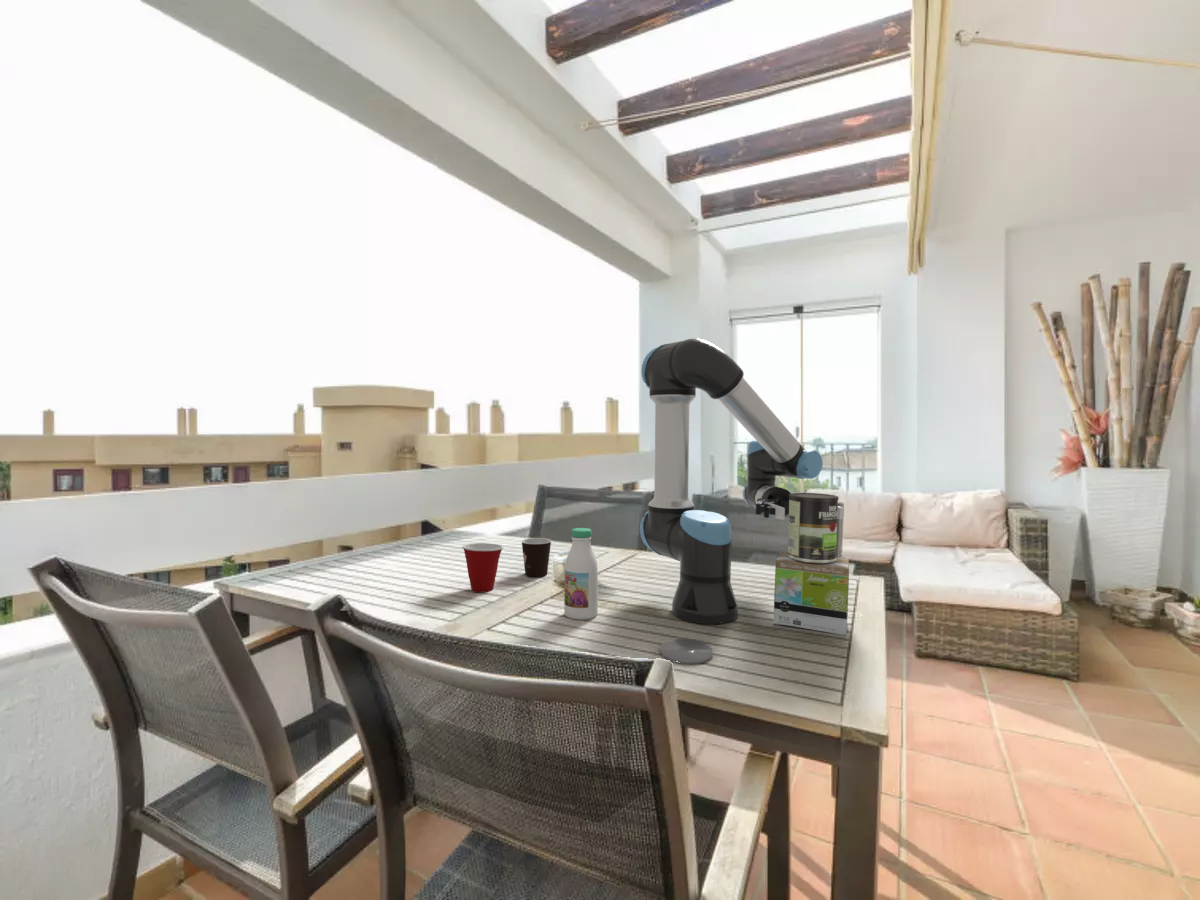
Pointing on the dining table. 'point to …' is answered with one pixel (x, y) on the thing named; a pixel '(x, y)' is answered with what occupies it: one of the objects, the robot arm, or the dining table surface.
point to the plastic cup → (482, 565)
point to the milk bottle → (581, 577)
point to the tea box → (811, 594)
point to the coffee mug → (536, 556)
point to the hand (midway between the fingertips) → (812, 513)
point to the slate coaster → (686, 651)
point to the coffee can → (812, 527)
